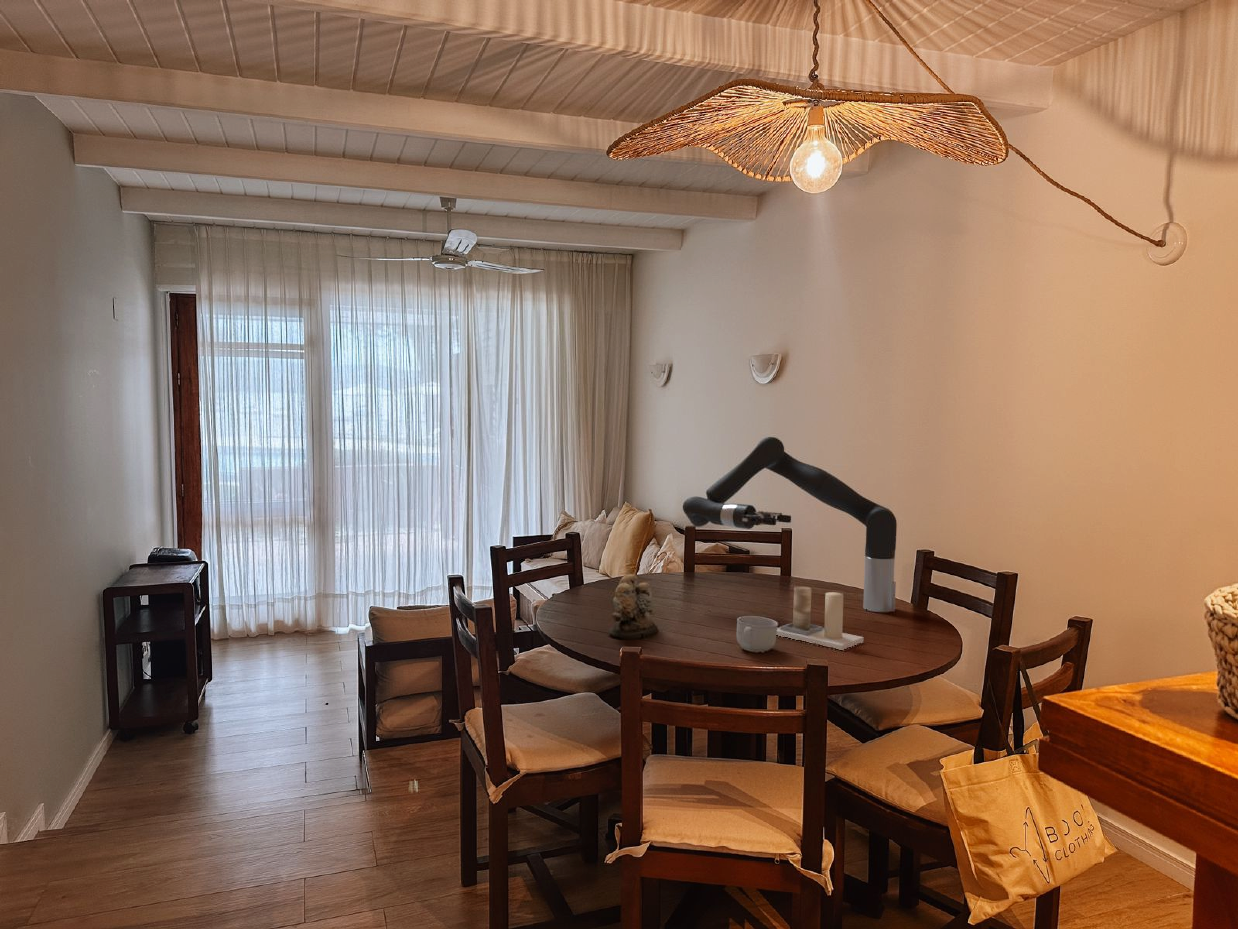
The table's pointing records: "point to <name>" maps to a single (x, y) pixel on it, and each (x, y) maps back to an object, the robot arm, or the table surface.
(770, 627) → the teacup
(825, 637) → the board
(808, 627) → the maple post
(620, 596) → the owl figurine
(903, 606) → the table surface
